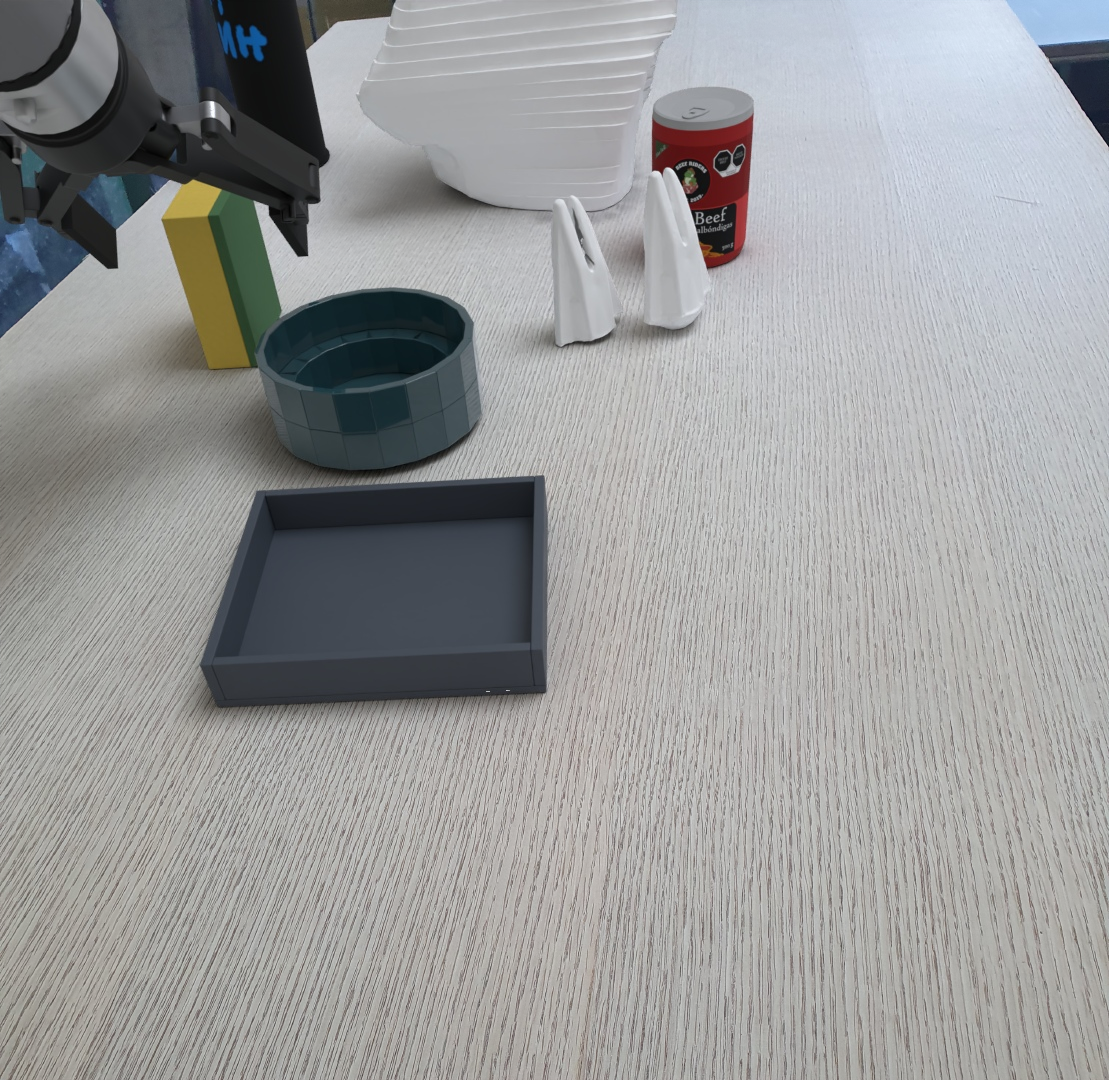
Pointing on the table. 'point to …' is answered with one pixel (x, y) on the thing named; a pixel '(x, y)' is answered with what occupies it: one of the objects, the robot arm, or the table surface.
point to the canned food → (708, 161)
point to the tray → (385, 594)
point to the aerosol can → (271, 69)
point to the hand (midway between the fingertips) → (206, 243)
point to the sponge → (222, 271)
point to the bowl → (371, 377)
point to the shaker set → (669, 266)
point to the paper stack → (520, 93)
